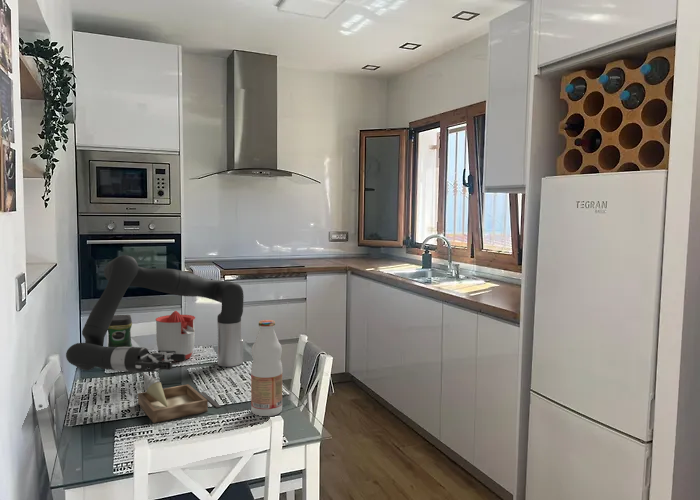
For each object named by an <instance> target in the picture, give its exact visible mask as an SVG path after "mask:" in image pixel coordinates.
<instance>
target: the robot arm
mask: <svg viewBox="0 0 700 500" xmlns="http://www.w3.org/2000/svg"><path fill="white" fill-rule="evenodd" d="M103 275H104V278H105V279H106V280H107V284H106V287H105V288H104V290H103V291H102V294H101V296H100V297H99V299H98V300H97V302H96V304H95V305H94V306H93V308H92V310H91V312H90V313H89V315H88V318H86V321H85V324H84V326H83V328H82V331H81V334H82V336H83V338H84V340H85V341H84V342H77V343H74V344H72V345H71V346H69V347H68V349H67V350H66V353H65V358H66V361H67V362H68V363H70V364H71V365H73V366H74V367H76V368H79V369H80V370H82V371H91V370H92V369H94V368H95V367H97V368H99V369H104V370H111V371H112V370H113V371H115V370H116V371H119V372H120V371H121V372H133V373H134V372H135V373H137V372H138V373H142V372H143V373H144V372H151V373H152V372H155V371H159V370H168V371H169V370H171V369H172V368H173V362H172V361H177V362H185V361H186V360H187V359H186V356H185V354H176V351H162V350H159V351H158V350H157V351H155V352H151V353H150V351H149V349H148V348H146V347H141V346H139V347H138V346H132V347H108V346H104V342H105V336H106V334H108V328H109V326H110V323H111V321H112V319H113V316H114V315H116V314H115V313H116V312H117V309H118V308H119V305H120V303H121V301H122V298H124V296H125V293H127V292H126V291H127V290H128V288H129V287H137V288H143V289H144V288H145V289H149V290H153V291H156V292H162V293H165V294H171V295H175V296H180V297H198V298H199V297H200V298H206V299H209V300H212V301H215V302H218V303H219V304H221V311H220V313H219V314H217V319H216V320H217V366H219V367H224V368H226V367H227V368H231V367H237V366H239V365H242V364H244V340H243V339H242V316H243V313H244V290H243V287H242V286H241V285H240V284H239V283H238V282H233V281H230V280H216V279H209V278H205V277H202V276H200V275H197V274H194V273H192V272H189V271H185V270H180V269H175V268H148V267H142V266H139V263H138V262H137V260H136V259H135V258H134V257H133V256H130V255H126V254H125V255H124V254H123V255H120V256H117V257H115V258H114V259H112V260H110V261H109V262H108V263H106V265H105V267H104V269H103ZM169 355H171V357H170V356H169ZM163 359H164V360H163Z"/></svg>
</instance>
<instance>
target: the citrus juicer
mask: <svg viewBox="0 0 700 500" xmlns="http://www.w3.org/2000/svg"><path fill="white" fill-rule="evenodd" d="M195 320H196V316H194V315H192V314H180V312H178V311H177V310H173V312H172V313H171V314H170V315H163V316H160V317H159V316H158V317H156V318H155V321H156V324H155V326H156V329H155V330H156V332H155V333H156V347H157V352H158V351H159V350H162V351H176V354H185V356H186V360H188V359H190V358H191V357H192V355H193V350H194V347H195V338H196V337H195V336H196V334H195V333H196V332H195V331H196V330H195V322H196V321H195ZM169 356H170V357H171V355H169ZM163 361H164V359H163Z"/></svg>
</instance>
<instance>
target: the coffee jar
mask: <svg viewBox="0 0 700 500" xmlns="http://www.w3.org/2000/svg"><path fill="white" fill-rule="evenodd" d="M132 325H133V322H132V317H131V314H114V316H113V319H112V321H111V323H110V326H109V328H108V330H107V334H108V335H107V337H108V342H107V347H133V344H132V336H131V335H132V334H131V328H132Z"/></svg>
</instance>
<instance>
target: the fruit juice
mask: <svg viewBox="0 0 700 500" xmlns="http://www.w3.org/2000/svg"><path fill="white" fill-rule="evenodd" d="M258 327H259V331H258V332H257V335H256V339H255V341H254V343H253V345H252V347H251V356H252V363H251V367H250V368H251V369H250V378H251V379H250V380H251V381H250V387H251V388H250V389H251V391H250V393H251V394H250V397H251V398H250V400H251V401H250V404H251V406H250V408H251V413H252V414H253V415H254V414H255V416H257V415H259V416H258V417H262V416H268V417H272V416H273V417H274V416H277V415H279V414H280V413H281V412H282V411H283V410H282V409H283V363H282V360H281V356H282V352H283V348H282V344H281V343H280V340H279V339H278V336H277V334H276V331H275V327H276V321H275V320H273V319H263V320H262V319H261V320H259V321H258Z"/></svg>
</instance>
